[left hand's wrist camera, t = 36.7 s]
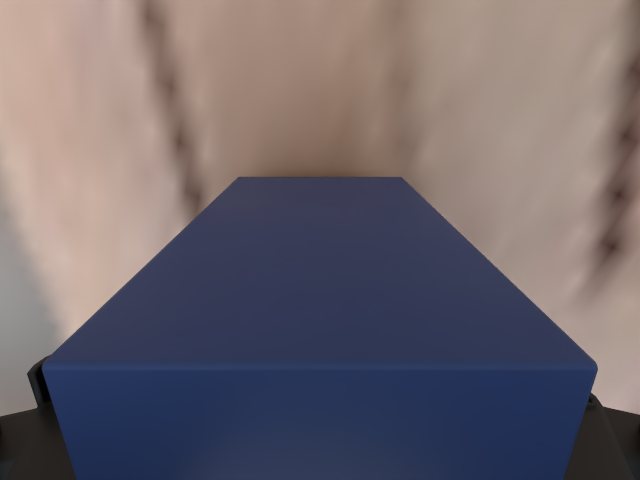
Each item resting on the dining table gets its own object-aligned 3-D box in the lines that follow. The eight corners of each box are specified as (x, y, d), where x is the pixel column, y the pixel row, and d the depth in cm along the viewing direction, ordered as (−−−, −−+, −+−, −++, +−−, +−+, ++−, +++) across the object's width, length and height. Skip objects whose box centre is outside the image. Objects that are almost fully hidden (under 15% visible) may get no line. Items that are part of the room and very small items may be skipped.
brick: (402, 176, 16) (603, 365, 5) (390, 324, 18) (502, 679, 7) (237, 176, 16) (36, 364, 5) (248, 324, 18) (136, 679, 7)
